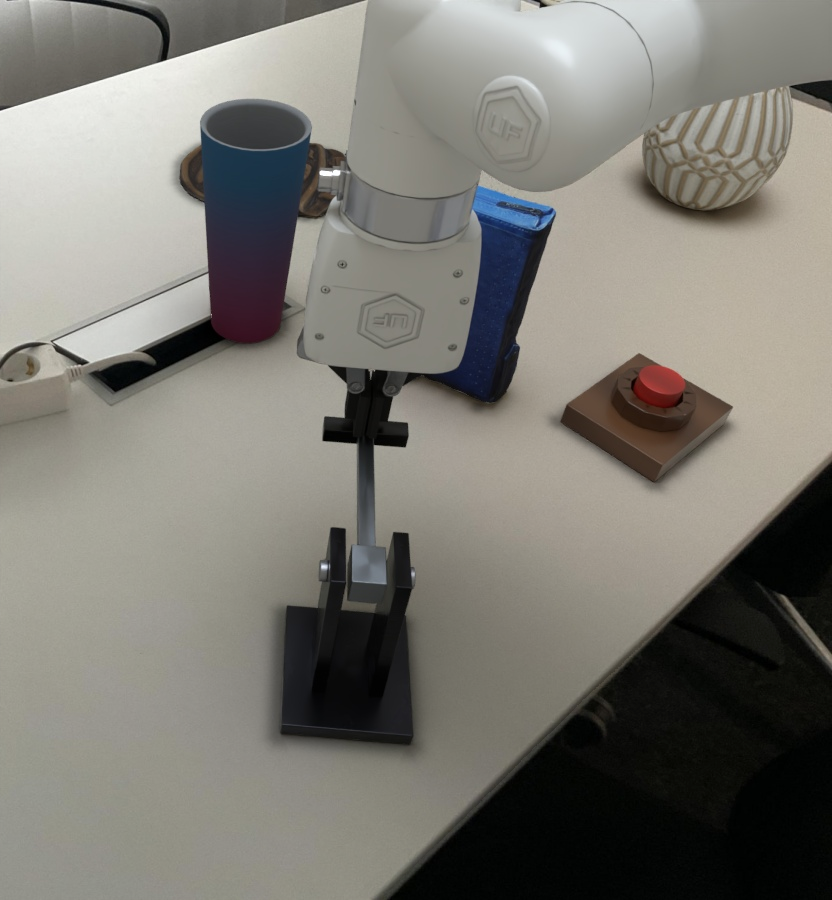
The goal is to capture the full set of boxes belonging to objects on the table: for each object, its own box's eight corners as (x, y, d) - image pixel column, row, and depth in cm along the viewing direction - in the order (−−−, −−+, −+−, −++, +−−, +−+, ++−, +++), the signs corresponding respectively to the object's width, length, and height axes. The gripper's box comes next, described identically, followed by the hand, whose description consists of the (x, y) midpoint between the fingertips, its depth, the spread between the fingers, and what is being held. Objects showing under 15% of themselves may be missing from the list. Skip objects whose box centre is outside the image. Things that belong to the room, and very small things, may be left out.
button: (648, 373, 89) (654, 359, 88) (686, 396, 87) (694, 381, 86) (624, 391, 87) (630, 377, 86) (663, 415, 85) (670, 400, 84)
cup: (301, 348, 96) (322, 148, 81) (204, 354, 95) (207, 152, 79) (283, 290, 103) (300, 96, 87) (193, 296, 101) (193, 100, 86)
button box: (631, 369, 95) (645, 338, 92) (724, 424, 90) (741, 392, 87) (559, 421, 89) (571, 389, 86) (654, 482, 84) (670, 450, 81)
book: (514, 387, 93) (572, 203, 78) (492, 417, 89) (549, 231, 75) (382, 332, 98) (415, 151, 84) (357, 359, 95) (387, 175, 81)
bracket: (285, 614, 73) (300, 491, 63) (403, 623, 73) (437, 502, 63) (279, 733, 66) (295, 616, 56) (410, 745, 66) (449, 629, 56)
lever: (321, 432, 70) (325, 410, 68) (404, 439, 70) (409, 417, 68) (317, 599, 61) (320, 579, 59) (411, 606, 61) (418, 587, 59)
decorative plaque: (198, 132, 127) (198, 122, 126) (363, 154, 124) (364, 144, 123) (163, 196, 116) (162, 186, 115) (344, 222, 112) (345, 211, 111)
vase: (785, 203, 119) (866, 41, 105) (707, 241, 112) (781, 73, 98) (678, 150, 128) (739, -6, 114) (600, 182, 121) (654, 21, 107)
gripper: (274, 219, 52) (255, 453, 66) (548, 240, 52) (474, 471, 65) (280, 152, 58) (262, 381, 71) (529, 170, 57) (464, 397, 70)
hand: (364, 423), depth 68 cm, fingers closed
